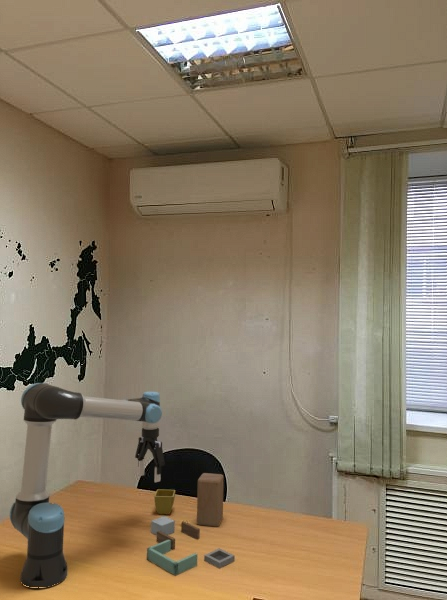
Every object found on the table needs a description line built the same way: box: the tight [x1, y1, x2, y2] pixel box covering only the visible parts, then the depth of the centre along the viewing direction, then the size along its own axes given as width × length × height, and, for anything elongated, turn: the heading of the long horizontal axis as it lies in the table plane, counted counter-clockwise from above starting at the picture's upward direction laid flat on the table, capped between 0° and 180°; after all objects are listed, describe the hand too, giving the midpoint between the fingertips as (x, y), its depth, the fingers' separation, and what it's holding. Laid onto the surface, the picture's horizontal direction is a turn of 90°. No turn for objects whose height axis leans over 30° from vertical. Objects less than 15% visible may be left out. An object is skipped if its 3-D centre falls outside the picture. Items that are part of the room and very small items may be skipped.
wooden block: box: [196, 472, 224, 528], centre depth 216 cm, size 10×10×20 cm
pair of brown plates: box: [156, 521, 201, 551], centre depth 197 cm, size 14×10×4 cm
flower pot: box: [153, 489, 176, 515], centre depth 226 cm, size 9×9×9 cm
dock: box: [146, 540, 198, 577], centre depth 179 cm, size 10×16×4 cm, turn 46°
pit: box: [204, 548, 236, 569], centre depth 181 cm, size 8×8×2 cm
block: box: [150, 515, 176, 536], centre depth 204 cm, size 7×7×5 cm
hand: (149, 478), depth 212 cm, fingers open, 11 cm apart
